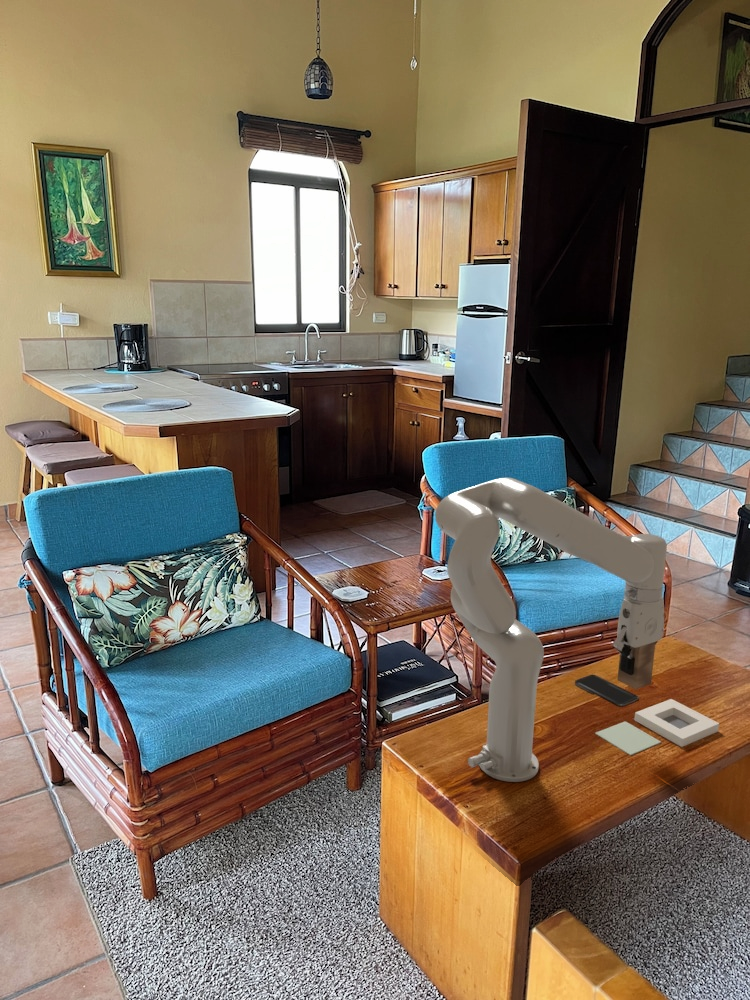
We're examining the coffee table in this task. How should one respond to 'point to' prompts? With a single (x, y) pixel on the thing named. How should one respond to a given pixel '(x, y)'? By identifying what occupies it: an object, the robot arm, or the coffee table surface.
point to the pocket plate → (676, 722)
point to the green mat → (628, 738)
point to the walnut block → (639, 667)
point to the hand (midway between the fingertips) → (635, 668)
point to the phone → (606, 690)
